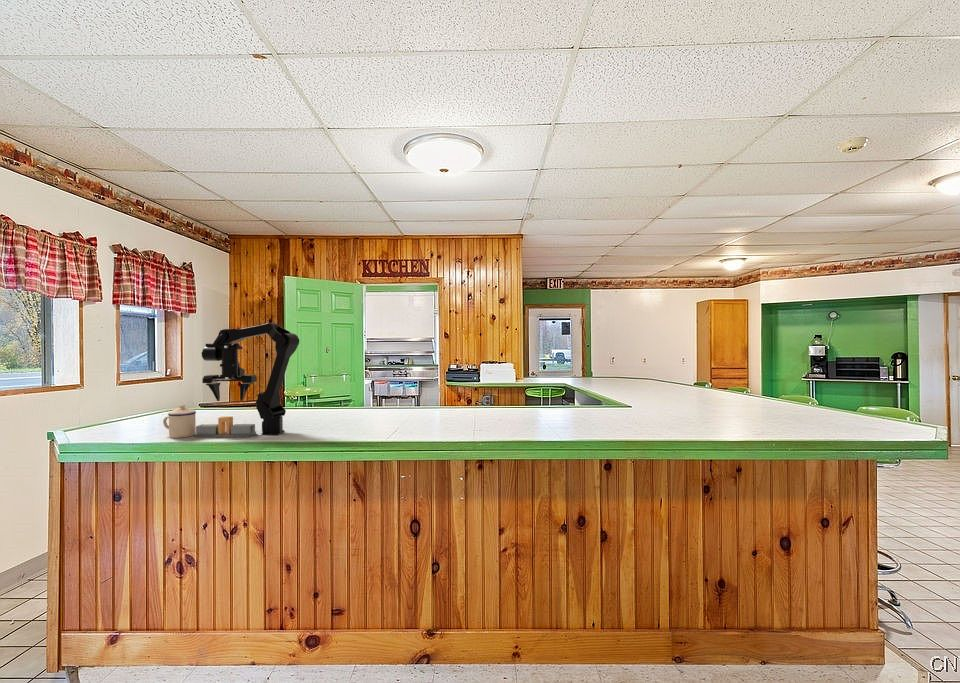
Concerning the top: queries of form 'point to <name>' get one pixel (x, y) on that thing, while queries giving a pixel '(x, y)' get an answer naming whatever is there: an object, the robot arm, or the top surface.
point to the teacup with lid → (181, 422)
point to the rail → (236, 431)
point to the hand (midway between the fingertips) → (230, 400)
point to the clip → (225, 425)
